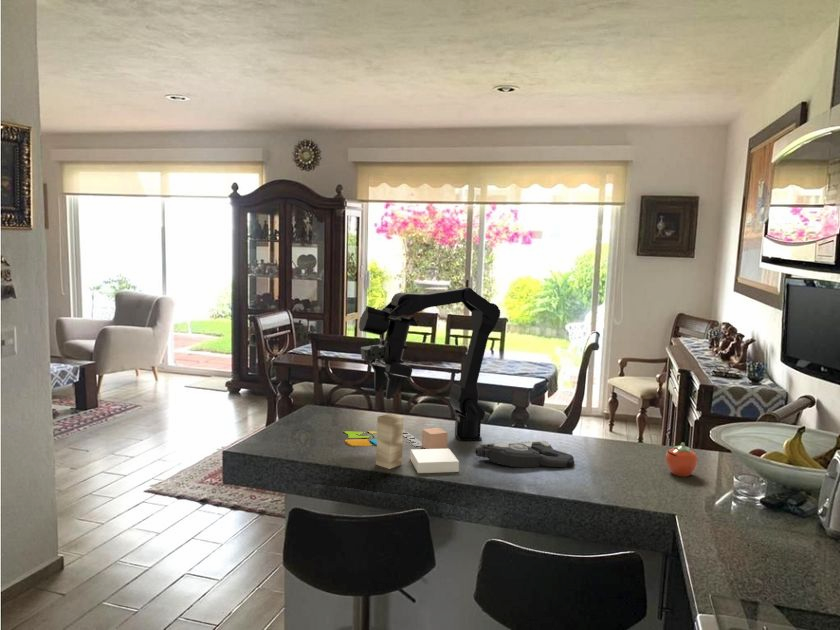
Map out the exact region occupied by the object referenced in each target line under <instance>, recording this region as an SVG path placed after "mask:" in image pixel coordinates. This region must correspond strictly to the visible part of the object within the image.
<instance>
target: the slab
mask: <svg viewBox="0 0 840 630" xmlns="http://www.w3.org/2000/svg"><path fill="white" fill-rule="evenodd" d="M410 461H411V463H412V465H413V467H414V469H415V470H416V472H417V474H428V473H429V474H430V473H432V474H433V473H457V472H459V471H460V461H459V459H458V458H457V457H456V455H455V454H454V452H452V451H451V449H450V448H447V449H424V448H422V449H421V448H419V449H410Z"/></svg>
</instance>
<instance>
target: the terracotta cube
mask: <svg viewBox="0 0 840 630" xmlns="http://www.w3.org/2000/svg"><path fill="white" fill-rule="evenodd" d="M421 432H422V433H421V434H422V437H421V442H422V443H421V444H422V446H421V447H422V449H424V448H425V449H448V432H447V431H446V430H444V429H442V428H440V427H433V428H423V429H422V431H421Z"/></svg>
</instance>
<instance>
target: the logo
mask: <svg viewBox="0 0 840 630" xmlns="http://www.w3.org/2000/svg"><path fill="white" fill-rule="evenodd" d="M343 432H344V433H343ZM363 432H364V433H368V432H369V433H368V434H370V433H372V434H373V433H377V430H375V431H374V430H373V431H372V430H367V431H366V432H365V431H347V430H343V431H342V433H343V434H346V435H347V434H348V435H347V436H348V437H347V439H345V440H344V443H345V444H347V445H348V446H349V447H354V446H361V447H369V446H368V445H373V446H376V445H377V439H374V438H372V440H371V439H370V441H369V440H368V439H348V438H369V437H370V435H369V436H358V435H360V434H362V433H363ZM403 433H408V434H403V436H404V437H403V438H405V437H407V438H406V443H409V442H410V441H409V440H411V441H414V442H416V443H411V442H410V443H409V444H412V445H411V446H415V447H414V448H417V447H416V446H419V447H422V440H420V439H418V438H416V437H415V436H414V435H412V434H410V432H407V431H406V429H405V430H404V429H403ZM356 434H358V435H356ZM370 438H371V437H370ZM410 438H415V439H410ZM407 439H408V440H407ZM372 443H373V444H372ZM417 443H419V444H417Z"/></svg>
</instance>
